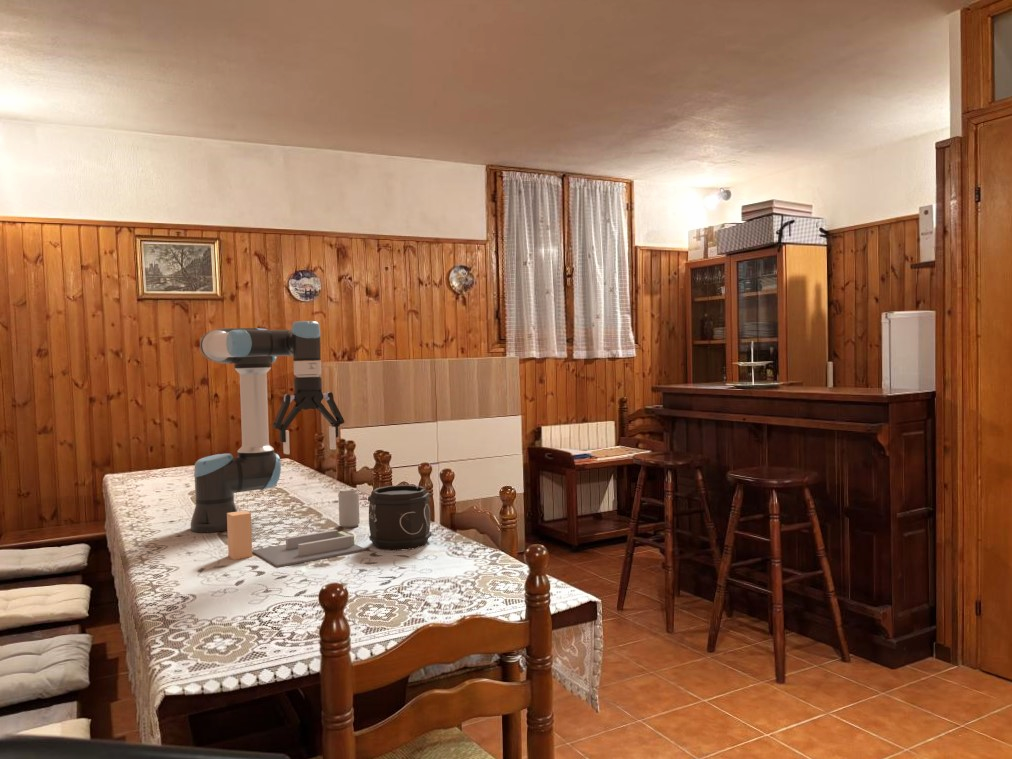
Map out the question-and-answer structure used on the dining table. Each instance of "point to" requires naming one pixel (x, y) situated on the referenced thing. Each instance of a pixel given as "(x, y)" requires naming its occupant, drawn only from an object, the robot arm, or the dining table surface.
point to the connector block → (239, 534)
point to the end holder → (310, 548)
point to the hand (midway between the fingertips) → (310, 451)
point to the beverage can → (349, 507)
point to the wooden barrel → (399, 517)
